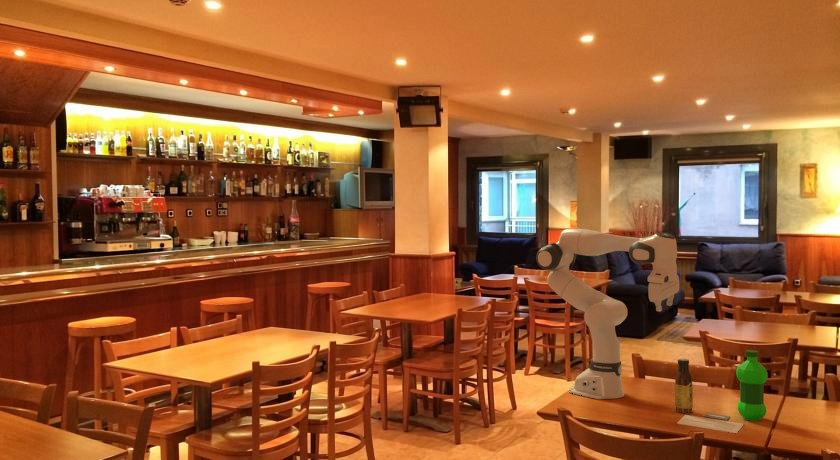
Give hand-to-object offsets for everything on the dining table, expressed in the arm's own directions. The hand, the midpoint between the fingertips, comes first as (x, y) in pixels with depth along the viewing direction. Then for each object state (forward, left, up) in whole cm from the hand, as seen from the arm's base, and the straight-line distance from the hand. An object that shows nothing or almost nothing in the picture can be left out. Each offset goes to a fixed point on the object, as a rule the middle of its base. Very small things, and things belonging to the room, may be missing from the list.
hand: (664, 308), depth 273 cm
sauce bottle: (+9, -7, -38) cm, 40 cm away
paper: (+21, -18, -38) cm, 47 cm away
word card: (+21, -8, -38) cm, 44 cm away
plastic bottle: (+32, -3, -38) cm, 50 cm away
